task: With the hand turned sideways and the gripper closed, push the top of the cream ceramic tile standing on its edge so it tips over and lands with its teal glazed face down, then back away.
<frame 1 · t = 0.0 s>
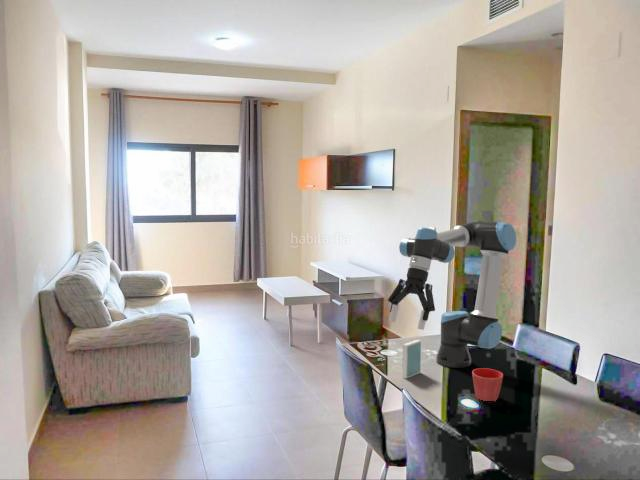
hand: (405, 325, 185), 28 cm above the table, tool tilted 20°, fingers open, 13 cm apart
tile: (409, 374, 214), on the table
flower pot: (486, 398, 189), on the table
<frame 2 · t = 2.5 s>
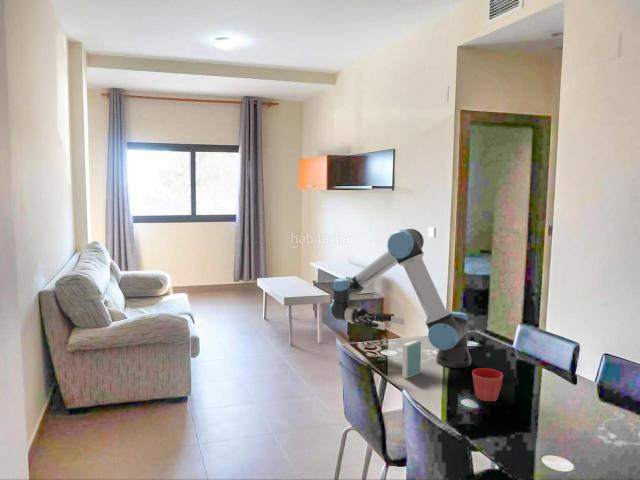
hand: (394, 324, 218), 20 cm above the table, tool horizontal, fingers open, 12 cm apart
nothing on the table moved.
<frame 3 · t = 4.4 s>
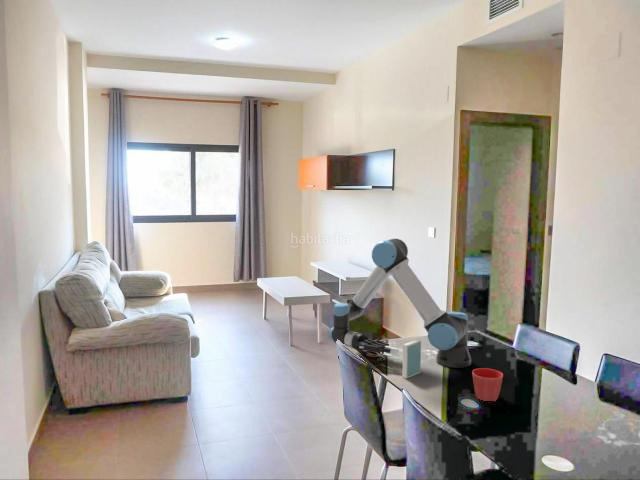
hand: (397, 352, 218), 8 cm above the table, tool horizontal, fingers closed
nothing on the table moved.
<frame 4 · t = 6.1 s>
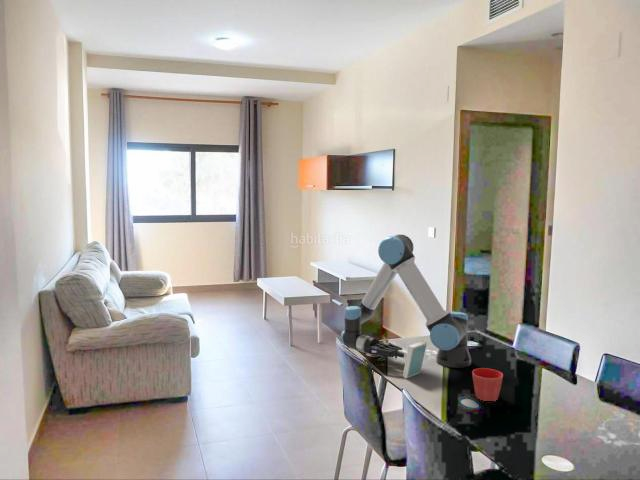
hand: (411, 356, 213), 8 cm above the table, tool horizontal, fingers closed
tile: (409, 373, 214), on the table, tilted 12°
everything else where it was.
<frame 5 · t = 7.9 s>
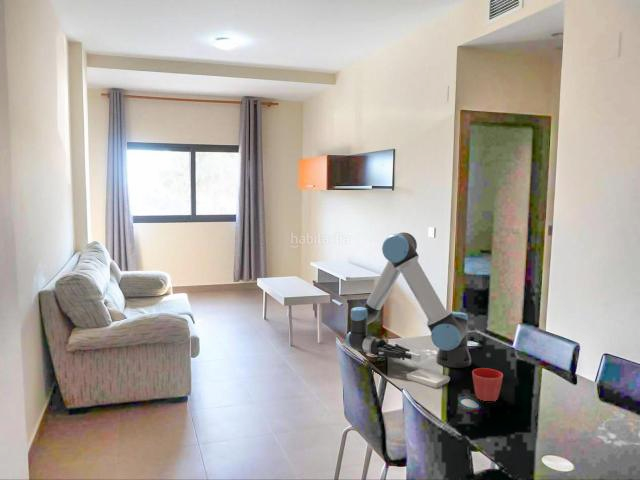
hand: (419, 358, 210), 8 cm above the table, tool horizontal, fingers closed
tile: (414, 371, 212), point 2 cm above the table, tilted 90°
everything else where it was.
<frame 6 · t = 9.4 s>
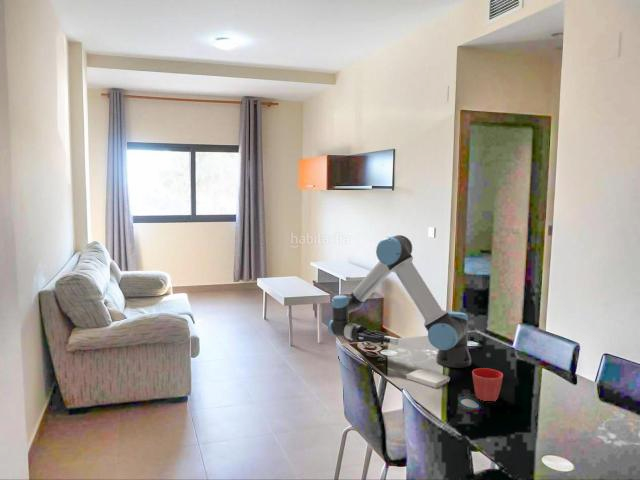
hand: (397, 341, 218), 13 cm above the table, tool horizontal, fingers closed
nothing on the table moved.
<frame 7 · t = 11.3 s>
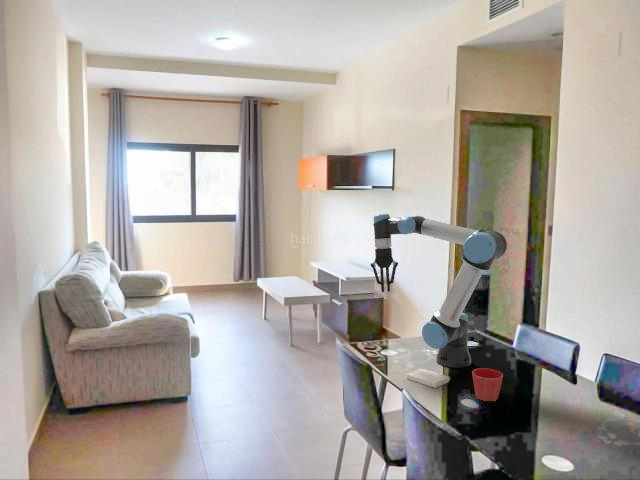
hand: (386, 298, 234), 28 cm above the table, tool pointing down, fingers closed
nothing on the table moved.
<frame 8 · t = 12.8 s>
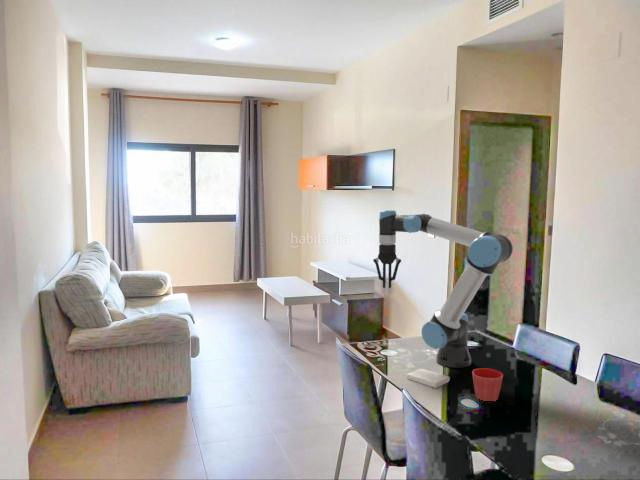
hand: (386, 294, 235), 29 cm above the table, tool pointing down, fingers closed
nothing on the table moved.
at the end: tile tilted 90°; tile point 1.9 cm above the table; tile inside the target area (1.0 cm from its centre), point 1.9 cm above the table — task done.
